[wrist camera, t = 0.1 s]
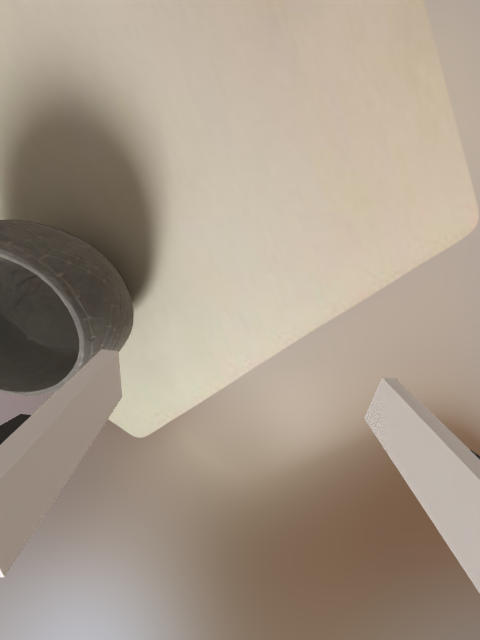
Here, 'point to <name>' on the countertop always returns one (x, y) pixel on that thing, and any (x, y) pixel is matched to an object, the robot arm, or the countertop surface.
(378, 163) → the countertop surface
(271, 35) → the countertop surface
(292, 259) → the countertop surface
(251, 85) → the countertop surface
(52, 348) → the bowl
